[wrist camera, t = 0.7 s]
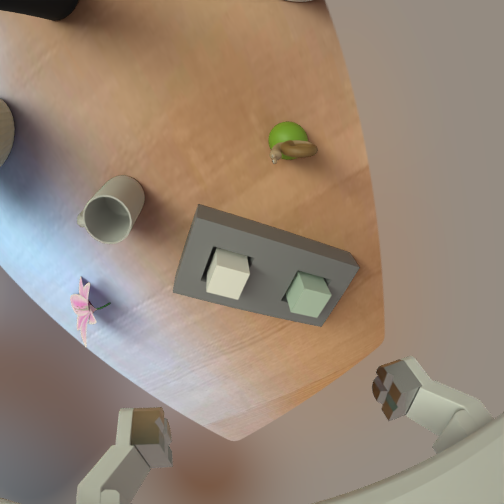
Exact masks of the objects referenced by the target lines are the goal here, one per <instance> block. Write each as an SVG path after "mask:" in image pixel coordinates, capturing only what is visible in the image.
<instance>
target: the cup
mask: <svg viewBox="0 0 504 504" xmlns="http://www.w3.org/2000/svg"><path fill="white" fill-rule="evenodd" d="M144 200H145V196H144V191H143V189H142V187H141V185H140V184H139V183H138V182H137V181H136V180H135V179H133V178H131V177H129V176H124V175H121V176H116V177H113V178H111V179H110V180H109V181H108V182H106V183H105V184H104V185H103V186H102V188H101V189H100V190H99V191H98V192H97V193H96V194H95V195H94V196H93V197H92V198H91V199H90V200H89V201H88V202H87V204H86V206H85V208H84V210H83V211H82V212H81V213H80V214H79V215H78V217H77V224H78V225H79V226H80V227H85V228H86V230H87V232H88V233H89V234H90V235H91V236H92V237H93V238H94V239H96V240H97V241H99V242H102V243H106V244H116V243H118V242H121V241H122V240H124V239H125V238H126V237H127V236H128V234H129V233H130V231H131V229H132V227H133V225H134V223H135V221H136V219H137V217H138V215H139V214H140V212H141V210H142V207H143V205H144Z"/></svg>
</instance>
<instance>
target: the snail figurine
mask: <svg viewBox="0 0 504 504" xmlns="http://www.w3.org/2000/svg"><path fill="white" fill-rule="evenodd" d="M269 146H270V149H271V152H270V158H271V159H272V162H273V164H276V163H277V160H279V159H280V158H281V159H285V160H292V159H296V158H304V157H310V156H313V155H315V154H316V153H317V151H318V149H317V147H316V146H315V145H314V144H312V143H310V142H308V138H307V134H306V132H305V131H304V129H303V128H302V127H301V126H300V125H298V124H296V123H293V122H282V123H279V124H278V125H276V126H275V127H274V128H273V129H272V130H271V132H270V134H269Z"/></svg>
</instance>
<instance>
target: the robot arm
mask: <svg viewBox="0 0 504 504" xmlns="http://www.w3.org/2000/svg"><path fill="white" fill-rule="evenodd" d="M287 1H295V2H305V1H312V0H287ZM376 373H377V375H378V376H377V377H376V378H375V379H374V381H373V384H372V391H373V395H374V397H375V399H376V401H377V402H380V403H381V404H382V411H383V413H384V414H385V416H386V418H387V419H388V421H390V420H393V419H396V418H399V417H401V416H404V415H406V416H407V417H409V418H410V419H412V420H413V421H415V422H417V423H418V424H420V425H421V426H423V427H425V428H426V429H428V430H430V431H431V432H433V433H434V434H436V435H438V436H439V437H438V439H437V440H436V442H435V443H434V444H433V449H434V451H435V452H436V455H435V456H433V457H431V458H429V459H427V460H425V461H423V462H421V463H419V464H417V465H415V466H413V467H411V468H408V469H406V470H404V471H402V472H400V473H398V474H395V475H393V476H391V477H388V478H386V479H383V480H381V481H378V482H376V483H373V484H371V485H368V486H365V487H363V488H360V489H357V490H354V491H351V492H349V493H346V494H343V495H339V496H336V497H333V498H330V499H327V500H323V501H319V502H316V503H312V504H504V412H503V413H502V414H500V415H499V416H498V417H496V418H495V419H494V418H493V417H492V415H491V414H490V413H489V412H488V410H487V409H486V408H485V406H484V405H483V404H482V402H481V401H480V400H479V399H478V398H475V397H472V396H470V395H468V394H466V393H463V392H461V391H459V390H456V389H454V388H451V387H449V386H447V385H444V384H442V383H440V382H438V381H432V380H431V378H430V377H429V376H428V375H427V373H426V372H425V371H424V370H423V368H422V367H421V366H420V364H419V363H418V362H417V361H416V359H415V358H414V357H412V356H409V357H406V358H403V359H399V360H396V361H393V362H390V363H387V364H384V365H381V366H379V367H378V369H377V371H376ZM171 442H172V440H171V430H170V426H169V423H168V420H167V419H166V418H164V411H163V409H162V407H156V408H155V407H154V408H121V410H120V412H119V418H118V428H117V437H116V445H113V446H111V447H110V448H109V450H108V451H107V452H106V453H105V454H104V455H103V457H102V458H101V459H100V460H99V461H98V463H97V464H96V465H95V466H94V467H93V468H92V470H91V471H90V472H89V473H88V474H87V475H86V477H85V478H84V479H83V480H82V481H81V482H80V484H79V485H78V488H77V498H76V504H131V501H132V499H133V498H134V496H135V494H136V493H137V491H138V490H139V488H140V486H141V485H142V483H143V481H144V480H145V478H146V477H147V475H148V473H149V471H150V470H151V469H150V468H162V467H173V464H172V451H171V449H170V447H169V445H170V443H171ZM0 504H19V503H16V502H13V501H10V500H7V499H4V498H0Z"/></svg>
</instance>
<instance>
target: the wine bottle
mask: <svg viewBox="0 0 504 504" xmlns="http://www.w3.org/2000/svg"><path fill="white" fill-rule="evenodd" d="M77 3H78V0H0V10H3V11H9V12H15V13H20V14H26V15H31V16H35V17H40V18H44V19H49V20H53V21H55V20H60V19H63V18H65V17H66V16H68V15H69V14H70V13H71V12H72V11H73V10H74V9H75V7H76V5H77Z"/></svg>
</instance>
